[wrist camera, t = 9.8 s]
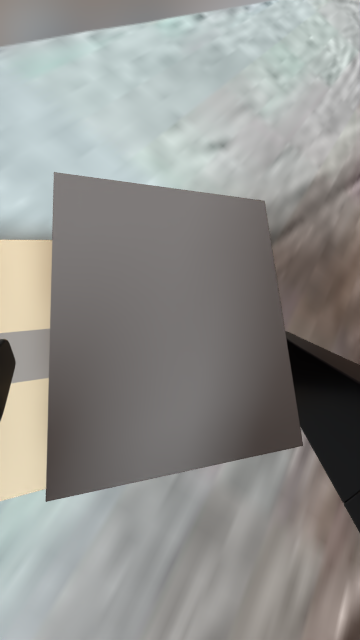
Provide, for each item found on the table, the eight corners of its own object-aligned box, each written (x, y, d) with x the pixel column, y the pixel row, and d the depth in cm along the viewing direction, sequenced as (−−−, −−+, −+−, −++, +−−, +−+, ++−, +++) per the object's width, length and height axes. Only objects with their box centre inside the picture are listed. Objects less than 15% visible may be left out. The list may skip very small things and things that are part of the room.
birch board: (234, 260, 19) (255, 241, 16) (263, 411, 17) (293, 421, 14) (-122, 267, 12) (-193, 238, 10) (-138, 510, 10) (-234, 564, 8)
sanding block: (190, 396, 12) (303, 445, 5) (94, 408, 11) (45, 501, 4) (182, 292, 14) (264, 200, 6) (93, 291, 12) (53, 172, 5)
